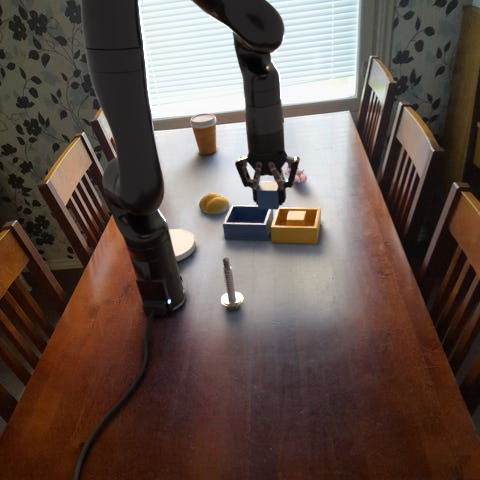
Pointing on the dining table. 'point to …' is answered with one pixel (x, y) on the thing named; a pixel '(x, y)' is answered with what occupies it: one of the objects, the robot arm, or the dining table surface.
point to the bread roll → (214, 204)
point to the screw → (230, 288)
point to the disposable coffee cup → (205, 132)
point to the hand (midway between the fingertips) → (270, 203)
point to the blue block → (268, 195)
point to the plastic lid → (182, 243)
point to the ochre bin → (296, 233)
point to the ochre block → (296, 218)
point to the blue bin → (248, 222)
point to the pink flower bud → (298, 175)
